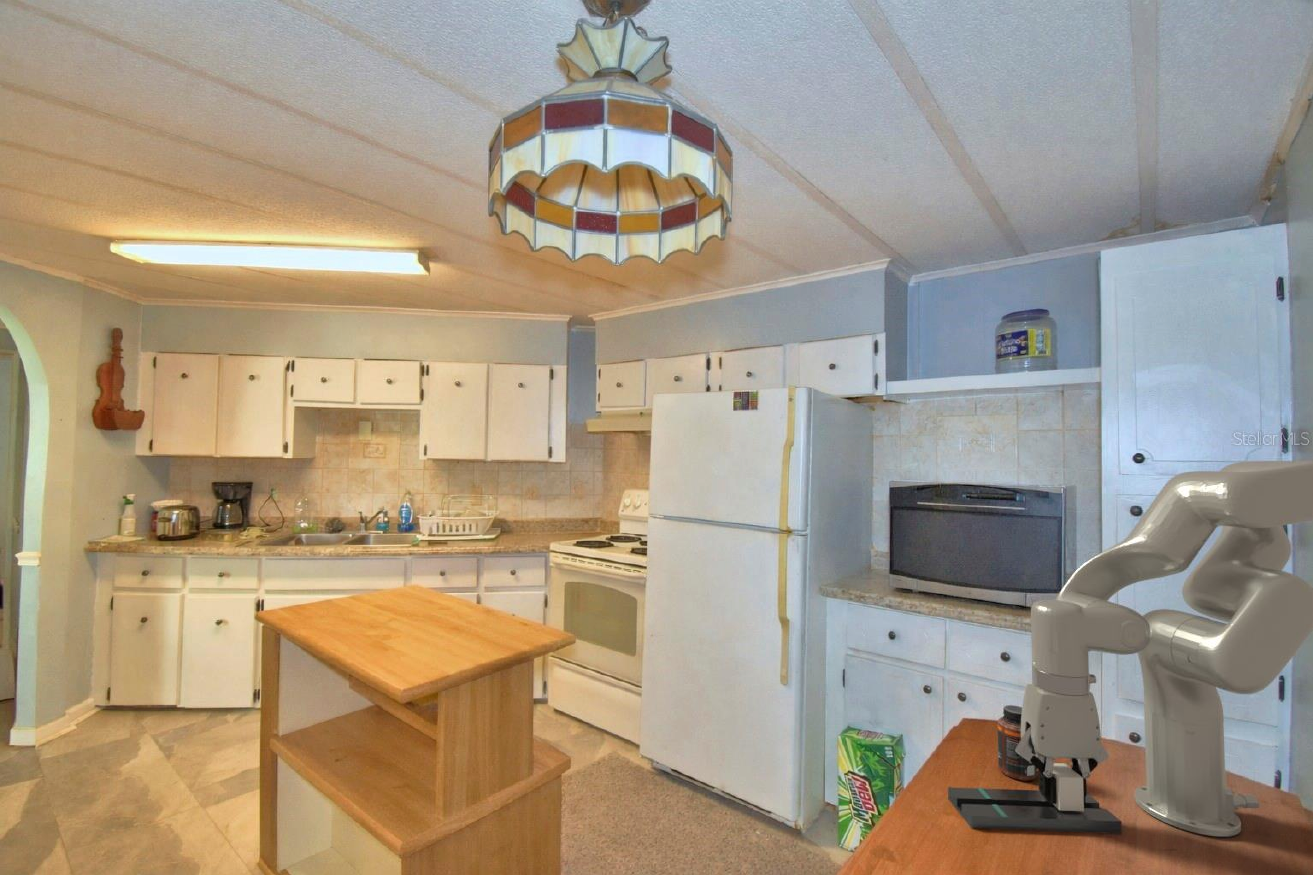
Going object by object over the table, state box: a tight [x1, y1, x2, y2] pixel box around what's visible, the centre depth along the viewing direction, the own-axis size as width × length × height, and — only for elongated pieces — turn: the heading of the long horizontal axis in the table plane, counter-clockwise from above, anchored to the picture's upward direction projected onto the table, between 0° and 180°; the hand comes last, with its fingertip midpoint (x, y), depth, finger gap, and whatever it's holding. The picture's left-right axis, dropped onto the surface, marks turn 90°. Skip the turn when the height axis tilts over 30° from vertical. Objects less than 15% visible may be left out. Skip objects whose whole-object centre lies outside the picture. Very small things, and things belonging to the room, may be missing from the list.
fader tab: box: [1052, 762, 1084, 811], centre depth 94 cm, size 4×4×6 cm
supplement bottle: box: [997, 704, 1038, 782], centre depth 107 cm, size 6×6×11 cm
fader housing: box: [947, 787, 1123, 834], centre depth 94 cm, size 22×8×2 cm, turn 87°
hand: (1062, 798), depth 93 cm, fingers closed on fader tab, 3 cm apart
